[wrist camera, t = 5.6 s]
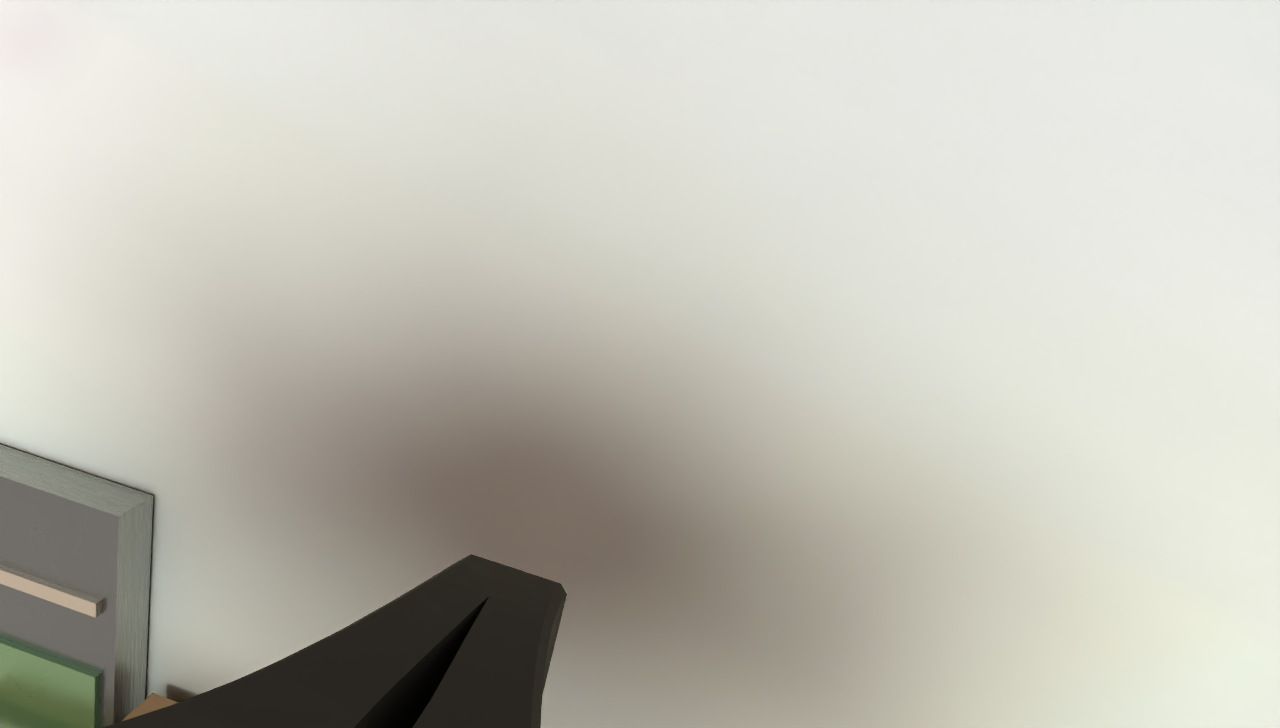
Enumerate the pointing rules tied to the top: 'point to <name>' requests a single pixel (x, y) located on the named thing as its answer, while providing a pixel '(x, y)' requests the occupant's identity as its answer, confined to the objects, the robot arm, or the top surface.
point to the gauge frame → (71, 595)
